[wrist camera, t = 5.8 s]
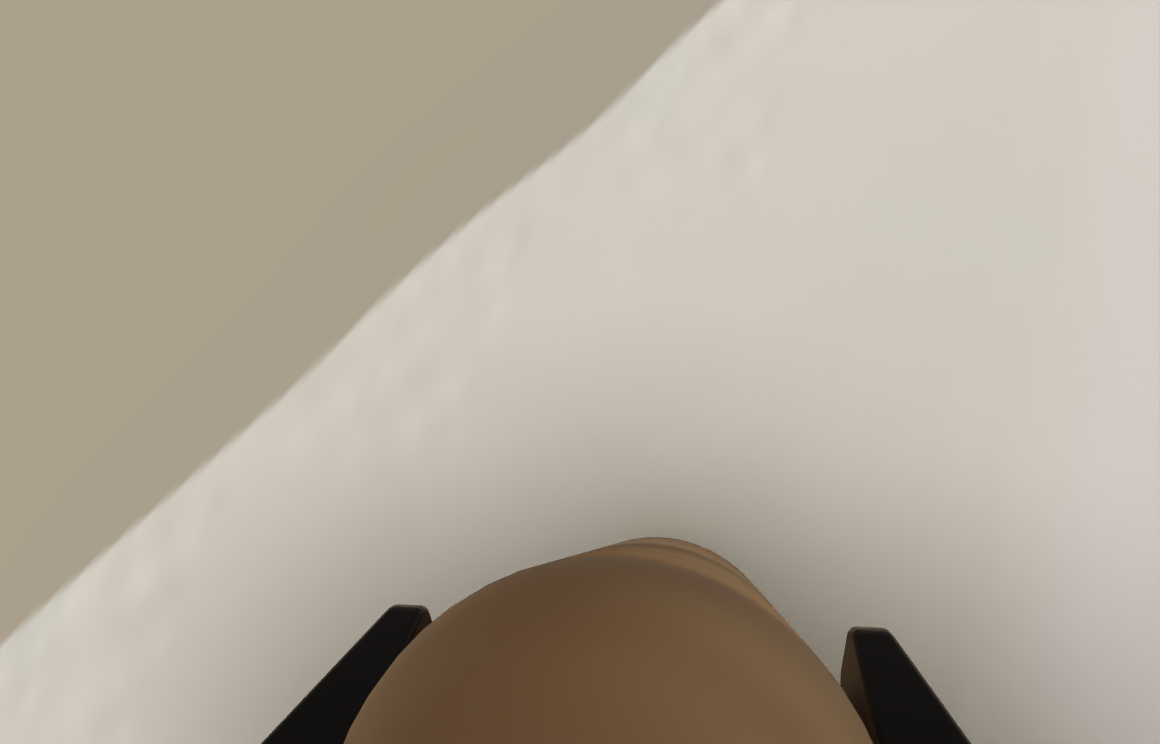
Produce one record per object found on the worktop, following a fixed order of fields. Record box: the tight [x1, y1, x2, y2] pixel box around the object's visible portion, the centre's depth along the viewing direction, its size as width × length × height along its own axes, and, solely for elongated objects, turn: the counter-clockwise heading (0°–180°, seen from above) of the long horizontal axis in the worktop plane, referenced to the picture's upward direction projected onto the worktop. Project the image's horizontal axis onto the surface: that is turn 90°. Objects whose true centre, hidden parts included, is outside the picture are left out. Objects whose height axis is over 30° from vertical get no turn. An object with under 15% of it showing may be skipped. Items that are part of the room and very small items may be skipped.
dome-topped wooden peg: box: [344, 538, 873, 744], centre depth 10 cm, size 5×5×11 cm
